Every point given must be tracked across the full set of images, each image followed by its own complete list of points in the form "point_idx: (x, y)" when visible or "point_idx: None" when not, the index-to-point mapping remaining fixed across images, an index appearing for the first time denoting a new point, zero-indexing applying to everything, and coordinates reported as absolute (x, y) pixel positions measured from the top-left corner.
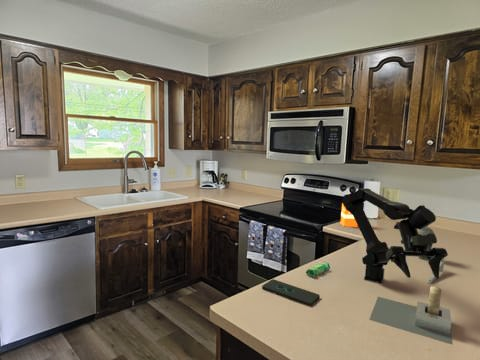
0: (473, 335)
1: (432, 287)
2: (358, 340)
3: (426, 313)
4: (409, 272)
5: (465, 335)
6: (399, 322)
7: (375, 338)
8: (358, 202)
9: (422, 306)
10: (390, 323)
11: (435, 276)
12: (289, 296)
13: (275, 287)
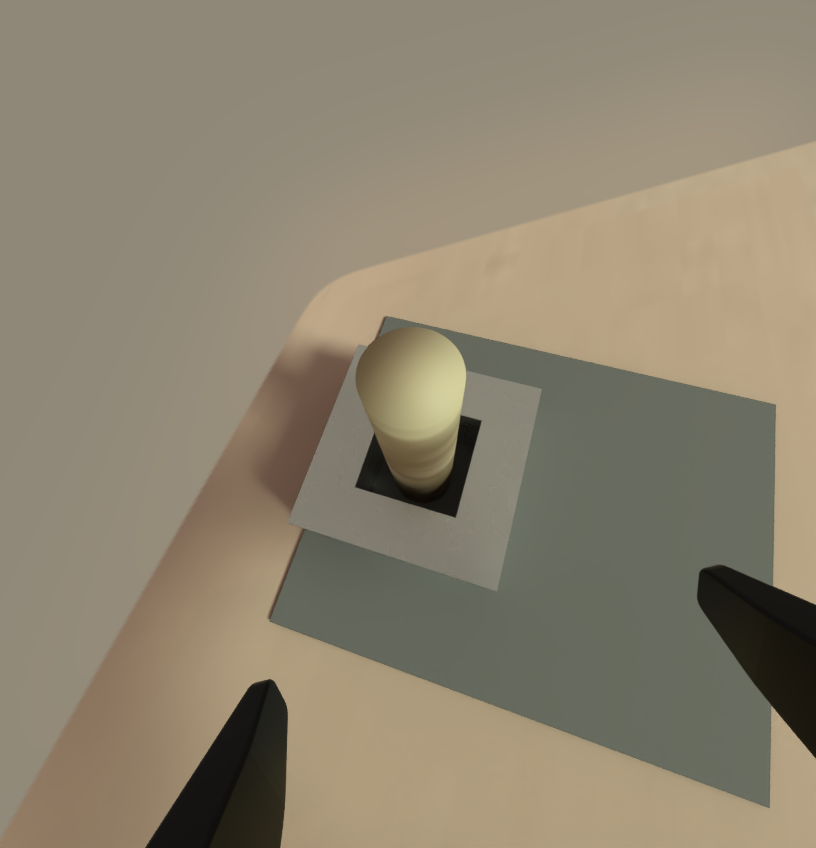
0: (245, 427)
1: (438, 391)
2: (788, 231)
3: (474, 409)
4: (772, 611)
5: (286, 415)
6: (605, 426)
7: (718, 264)
8: None
9: (478, 504)
10: (655, 400)
11: (281, 749)
12: None
13: None
